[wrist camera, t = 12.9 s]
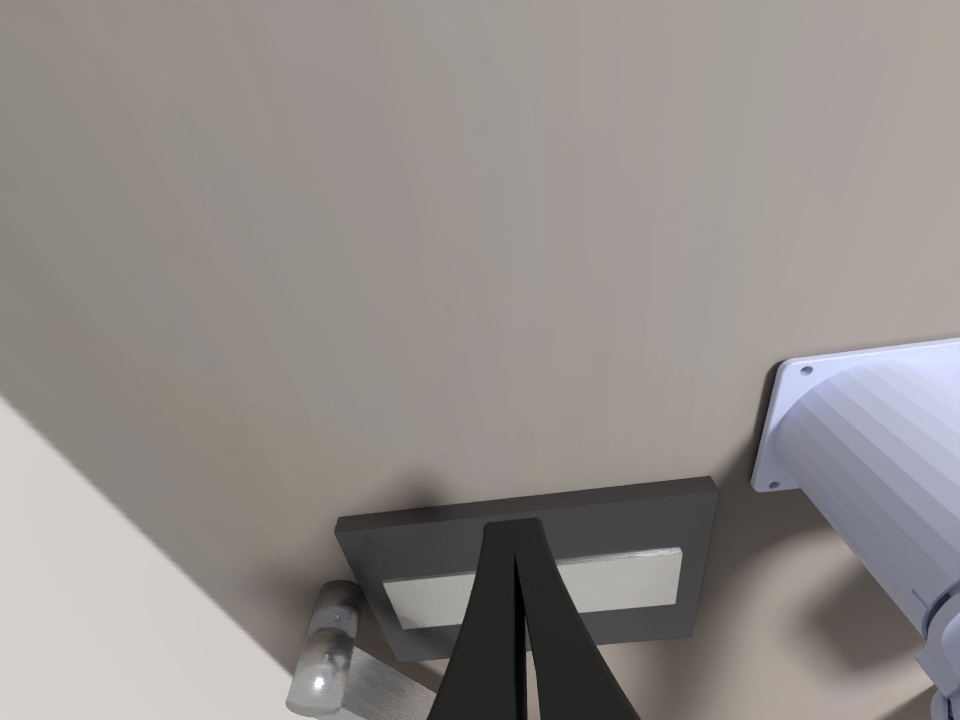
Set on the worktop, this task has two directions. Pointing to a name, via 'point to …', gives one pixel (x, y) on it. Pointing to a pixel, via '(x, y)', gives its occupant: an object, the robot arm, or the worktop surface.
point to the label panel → (574, 546)
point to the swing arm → (352, 684)
